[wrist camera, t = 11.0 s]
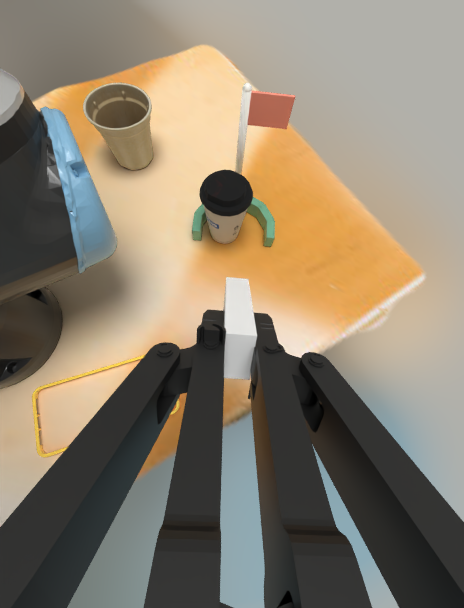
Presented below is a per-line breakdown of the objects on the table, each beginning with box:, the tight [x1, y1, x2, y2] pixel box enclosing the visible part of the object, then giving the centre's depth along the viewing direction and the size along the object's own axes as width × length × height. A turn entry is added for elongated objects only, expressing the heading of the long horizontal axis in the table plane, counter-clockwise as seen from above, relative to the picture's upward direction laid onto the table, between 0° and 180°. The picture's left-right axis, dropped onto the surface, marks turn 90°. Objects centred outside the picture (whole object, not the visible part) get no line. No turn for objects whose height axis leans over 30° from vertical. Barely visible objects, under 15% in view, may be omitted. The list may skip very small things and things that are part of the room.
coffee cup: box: [200, 170, 253, 244], centre depth 36 cm, size 7×7×10 cm
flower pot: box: [83, 83, 153, 170], centre depth 40 cm, size 9×9×9 cm
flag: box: [235, 83, 295, 175], centre depth 35 cm, size 6×1×17 cm, turn 86°
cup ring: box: [192, 197, 275, 247], centre depth 40 cm, size 12×8×2 cm, turn 86°
